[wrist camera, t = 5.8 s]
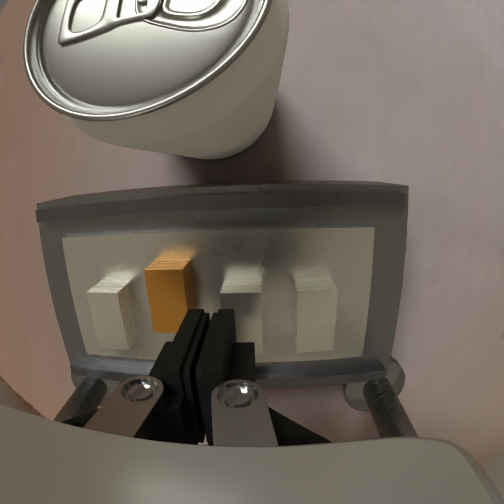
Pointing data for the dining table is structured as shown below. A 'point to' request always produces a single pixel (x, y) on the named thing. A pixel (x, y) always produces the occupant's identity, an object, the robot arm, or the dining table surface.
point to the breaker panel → (231, 274)
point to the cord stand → (357, 394)
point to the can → (160, 70)
